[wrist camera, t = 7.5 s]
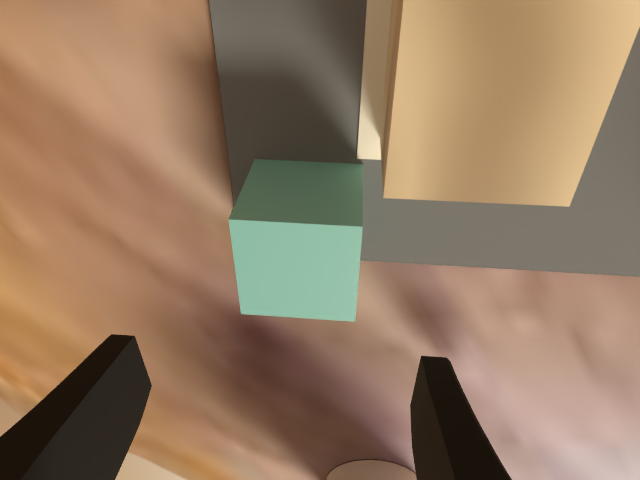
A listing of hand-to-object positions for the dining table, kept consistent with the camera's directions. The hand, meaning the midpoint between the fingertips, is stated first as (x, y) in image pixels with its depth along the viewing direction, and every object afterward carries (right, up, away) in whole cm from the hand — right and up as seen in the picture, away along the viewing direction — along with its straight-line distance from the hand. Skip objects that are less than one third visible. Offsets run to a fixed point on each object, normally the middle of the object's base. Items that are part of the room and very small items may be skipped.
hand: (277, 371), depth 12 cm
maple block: (+6, +9, +3) cm, 11 cm away
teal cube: (+1, +5, +6) cm, 8 cm away
